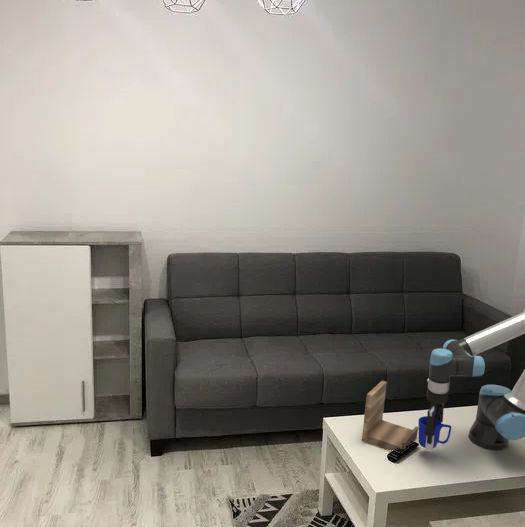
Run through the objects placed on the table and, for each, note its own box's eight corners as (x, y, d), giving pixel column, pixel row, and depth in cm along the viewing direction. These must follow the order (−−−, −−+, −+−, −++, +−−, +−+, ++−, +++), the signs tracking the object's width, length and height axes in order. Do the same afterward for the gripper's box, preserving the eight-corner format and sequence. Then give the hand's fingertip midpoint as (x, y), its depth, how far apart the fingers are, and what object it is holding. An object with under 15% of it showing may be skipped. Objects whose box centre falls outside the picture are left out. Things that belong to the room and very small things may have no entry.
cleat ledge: (416, 438, 246) (418, 427, 245) (403, 455, 233) (404, 443, 231) (381, 426, 253) (382, 415, 252) (366, 442, 240) (367, 431, 239)
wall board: (381, 426, 253) (386, 382, 249) (366, 442, 240) (371, 395, 235) (376, 425, 254) (382, 380, 250) (361, 441, 241) (366, 394, 236)
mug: (449, 453, 228) (452, 429, 226) (416, 449, 230) (418, 425, 228) (448, 442, 236) (451, 418, 233) (416, 438, 238) (418, 414, 236)
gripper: (435, 378, 237) (430, 432, 243) (419, 397, 221) (413, 454, 226) (455, 383, 233) (449, 437, 239) (440, 402, 217) (434, 460, 222)
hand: (432, 445), depth 233 cm, fingers closed on mug, 7 cm apart
